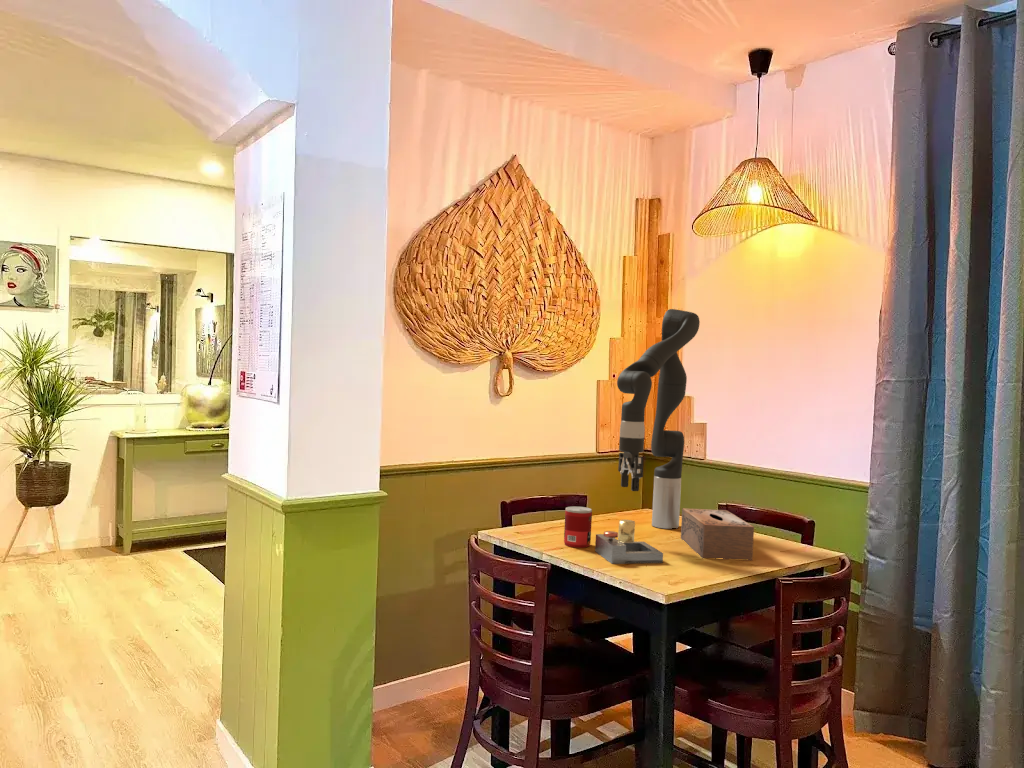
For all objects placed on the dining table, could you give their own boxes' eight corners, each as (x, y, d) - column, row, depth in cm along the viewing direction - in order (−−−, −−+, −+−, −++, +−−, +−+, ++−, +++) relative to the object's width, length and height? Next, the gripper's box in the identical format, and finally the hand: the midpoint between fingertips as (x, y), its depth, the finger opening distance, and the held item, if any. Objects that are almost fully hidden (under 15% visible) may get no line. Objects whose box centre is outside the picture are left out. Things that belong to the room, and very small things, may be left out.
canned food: (593, 548, 227) (595, 511, 227) (567, 548, 226) (568, 510, 226) (586, 542, 235) (588, 506, 235) (561, 542, 233) (562, 506, 233)
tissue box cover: (752, 561, 221) (754, 526, 221) (702, 559, 221) (704, 524, 220) (725, 541, 247) (726, 510, 246) (680, 539, 246) (682, 508, 246)
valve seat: (595, 551, 223) (596, 527, 223) (643, 550, 226) (644, 527, 226) (611, 563, 209) (612, 538, 209) (662, 563, 213) (663, 538, 213)
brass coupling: (615, 542, 237) (616, 519, 236) (630, 542, 238) (631, 519, 237) (621, 545, 232) (622, 522, 232) (636, 545, 233) (637, 522, 233)
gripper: (652, 438, 228) (650, 492, 228) (634, 434, 242) (632, 485, 242) (629, 437, 226) (626, 492, 226) (612, 433, 240) (609, 485, 240)
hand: (629, 488), depth 234 cm, fingers open, 8 cm apart
